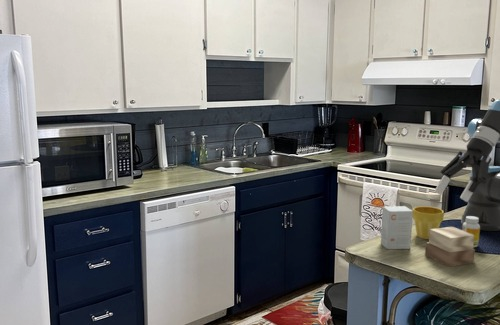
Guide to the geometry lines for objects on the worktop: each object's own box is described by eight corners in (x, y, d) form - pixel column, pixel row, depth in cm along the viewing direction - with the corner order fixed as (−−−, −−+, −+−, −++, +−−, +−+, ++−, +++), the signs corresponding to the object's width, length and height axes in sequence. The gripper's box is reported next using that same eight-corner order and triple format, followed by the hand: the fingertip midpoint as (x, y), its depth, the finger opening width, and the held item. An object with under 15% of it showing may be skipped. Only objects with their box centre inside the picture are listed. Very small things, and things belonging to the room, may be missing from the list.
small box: (402, 242, 167) (405, 205, 165) (410, 249, 161) (413, 210, 159) (379, 243, 166) (382, 206, 164) (386, 249, 160) (389, 211, 158)
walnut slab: (449, 252, 159) (451, 239, 159) (473, 263, 150) (474, 249, 149) (424, 256, 156) (426, 242, 155) (447, 267, 147) (448, 253, 146)
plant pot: (405, 235, 175) (407, 209, 173) (420, 230, 181) (422, 204, 180) (432, 243, 167) (434, 215, 165) (447, 237, 174) (449, 210, 172)
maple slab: (451, 239, 158) (452, 226, 157) (472, 249, 150) (474, 235, 149) (428, 242, 155) (430, 229, 154) (449, 252, 146) (450, 238, 146)
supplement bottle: (457, 243, 167) (459, 216, 166) (468, 241, 169) (471, 214, 168) (470, 248, 162) (472, 220, 161) (481, 246, 164) (484, 218, 163)
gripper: (450, 134, 175) (420, 185, 174) (502, 138, 151) (467, 196, 150) (465, 146, 177) (435, 195, 176) (518, 151, 153) (484, 209, 152)
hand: (450, 196), depth 163 cm, fingers open, 13 cm apart
